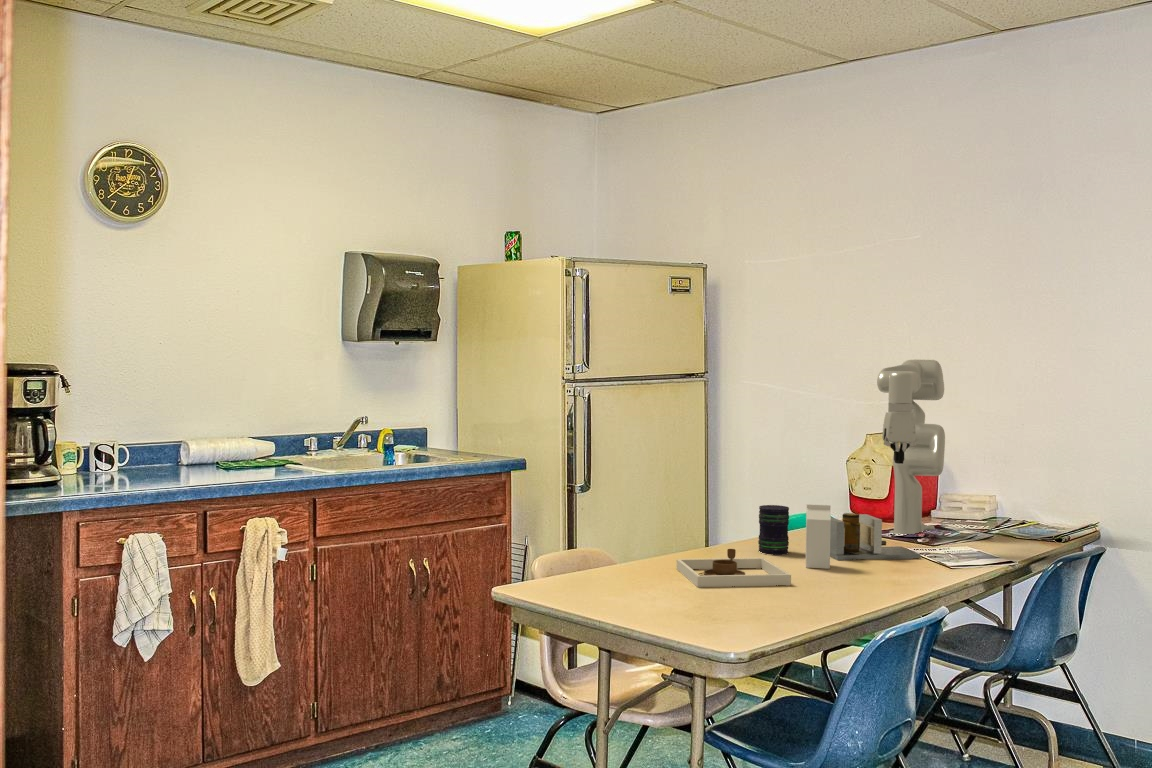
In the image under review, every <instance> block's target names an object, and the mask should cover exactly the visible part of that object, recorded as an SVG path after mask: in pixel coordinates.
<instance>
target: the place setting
mask: <svg viewBox="0 0 1152 768" xmlns="http://www.w3.org/2000/svg"><path fill="white" fill-rule="evenodd" d="M726 553H727V558H729V559H730V560H714V561H713V569H704V571H703V572H700V573H698V574H699V575H702V574H703V576H711V575H746V572H744V571H742V570H741V569H737V562H736V561H733V559H734V558H736V549H735V548H728V549H727V551H726Z"/></svg>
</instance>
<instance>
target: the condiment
mask: <svg viewBox="0 0 1152 768" xmlns="http://www.w3.org/2000/svg"><path fill="white" fill-rule="evenodd" d="M841 521H843V522H844V528H845V541H844V552H848V553H855V554H856V553H867V552H868V551H863V550H859V549H860V523H859V514H857V513H849V512H845V513H843V514H842V519H841Z"/></svg>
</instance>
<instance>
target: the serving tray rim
mask: <svg viewBox="0 0 1152 768" xmlns="http://www.w3.org/2000/svg"><path fill="white" fill-rule="evenodd" d="M714 560H730V559H729V558H728V557H727V558H680V559H679V558H676V570H677V571H678V572H679V571H680V572H681V573H680V572H679V573H680V574H682V575H683V576H684V577H685V578H686V579H687V580H688V581H690V582H691V583H692V584H693V585H694V586H695V587H697V588H719V587H720V588H725V587H726V588H727V587H730V588H731V587H732V586H733V587H734V586H735V587H767V586H768V587H771V586H773V587H777V586H778V585H786V586H791V585H792V574H791V573H789V572H788V571H786V570H784V569H783V568H781V567H779V566H778V565H776V564H774V563H773V562H770V561H769V560H767V559H765V558H764V557H746V558H745V557H744V558H743V557H741V558H740V557H739V558H737V557H735V558H734V559H733V561H736V562H737V568H756V569H761V568H762V569H761V570H763V569H764V570H765V571H764V570H763V571H764V572H765V573H767V572H768V573H767V574H745V575H711V576H704V575H701V574H699V573H698V572H696V571H695V570H693V569H699V570H709V569H713V561H714ZM776 585H777V586H776Z"/></svg>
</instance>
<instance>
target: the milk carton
mask: <svg viewBox="0 0 1152 768" xmlns="http://www.w3.org/2000/svg"><path fill="white" fill-rule="evenodd" d="M831 515H832V514H831V505H830V504H829V505H827V504H806V514H805V520H806V521H805V523H806V524H805V568H808V569H824V570H825V569H826V570H827V569H828V570H829V569H831V564H830V563H831V557H830V527H831V517H832V516H831Z"/></svg>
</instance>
